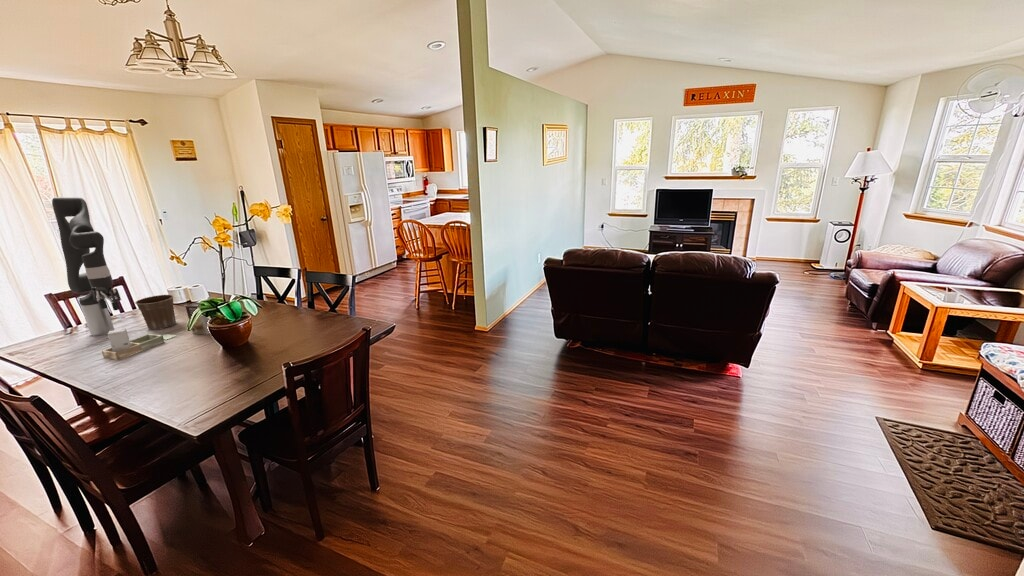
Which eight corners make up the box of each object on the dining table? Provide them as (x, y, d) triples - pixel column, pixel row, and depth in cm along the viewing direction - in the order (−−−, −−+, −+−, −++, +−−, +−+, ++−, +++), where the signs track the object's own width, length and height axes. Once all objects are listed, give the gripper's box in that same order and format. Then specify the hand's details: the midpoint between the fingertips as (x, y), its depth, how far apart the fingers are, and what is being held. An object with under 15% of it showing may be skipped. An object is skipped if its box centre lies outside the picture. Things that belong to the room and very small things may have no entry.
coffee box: (191, 334, 215) (184, 306, 210) (201, 329, 221) (194, 302, 216) (207, 334, 214) (200, 306, 209) (217, 329, 220) (210, 302, 215)
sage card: (156, 338, 209) (156, 338, 209) (166, 334, 214) (166, 334, 214) (166, 339, 208) (166, 339, 208) (176, 336, 212) (176, 335, 212)
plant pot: (149, 323, 230) (141, 296, 225) (184, 318, 236) (177, 292, 231) (138, 333, 216) (129, 305, 211) (175, 328, 222) (168, 301, 217)
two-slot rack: (103, 357, 189) (101, 351, 188) (150, 339, 208) (148, 333, 207) (118, 360, 187) (116, 353, 186) (164, 341, 205) (162, 335, 204)
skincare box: (114, 357, 189) (106, 334, 186) (116, 353, 193) (108, 330, 189) (131, 354, 193) (123, 331, 189) (133, 350, 196) (126, 327, 192)
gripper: (78, 277, 180) (90, 310, 185) (99, 278, 177) (111, 313, 181) (98, 273, 187) (109, 305, 192) (119, 274, 184) (130, 307, 188)
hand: (110, 309), depth 187 cm, fingers open, 8 cm apart
